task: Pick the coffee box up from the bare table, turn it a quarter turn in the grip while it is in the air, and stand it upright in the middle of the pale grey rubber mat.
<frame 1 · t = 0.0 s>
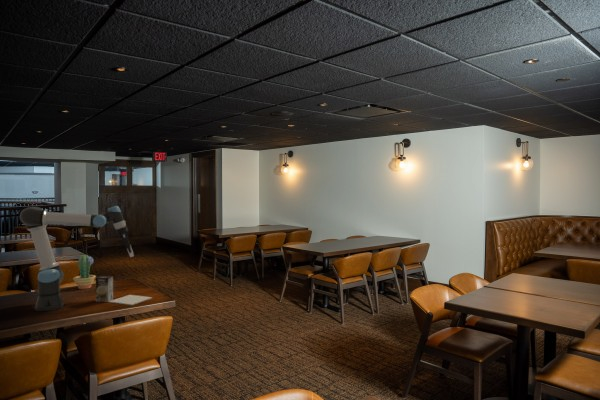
hand: (132, 255, 284), 28 cm above the table, tool tilted 20°, fingers open, 13 cm apart
potted cactus: (84, 287, 307), on the table
coffee box: (104, 300, 268), on the table
mat: (130, 300, 269), on the table
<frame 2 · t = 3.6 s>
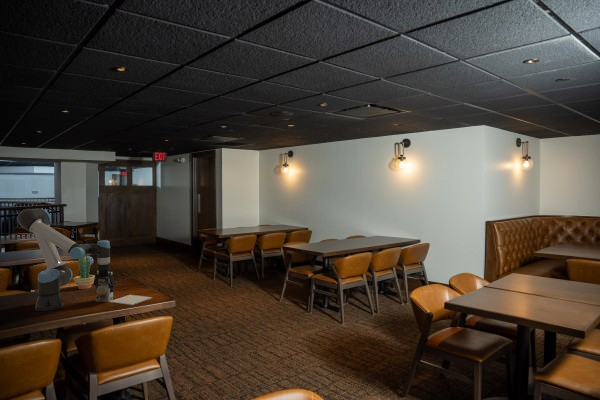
hand: (104, 296, 268), 3 cm above the table, tool pointing down, fingers closed on coffee box, 10 cm apart
coffee box: (104, 300, 268), on the table, touching gripper
everything else where it was.
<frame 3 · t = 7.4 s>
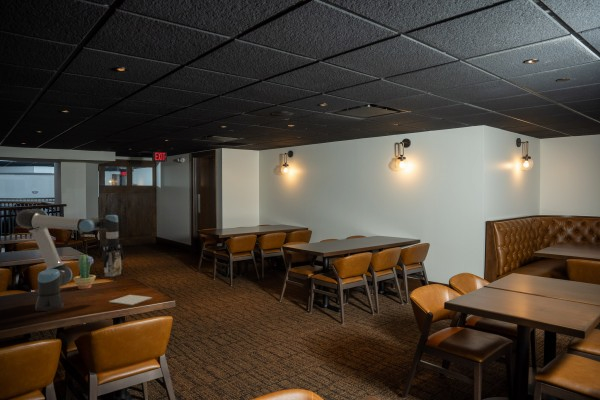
hand: (113, 270, 269), 20 cm above the table, tool pointing down, fingers closed on coffee box, 10 cm apart
coffee box: (113, 275, 269), point 17 cm above the table, touching gripper
everything else where it was.
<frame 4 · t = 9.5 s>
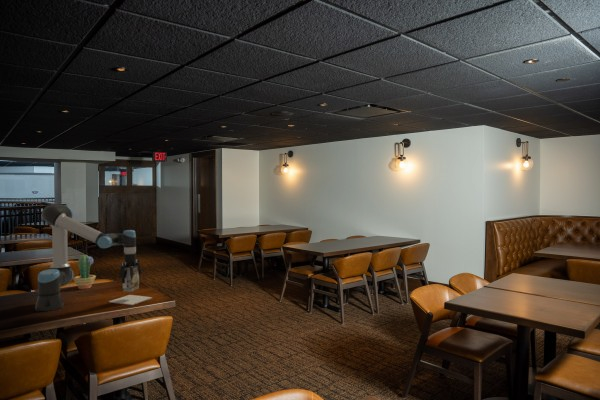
hand: (131, 286, 269), 10 cm above the table, tool pointing down, fingers closed on coffee box, 10 cm apart
coffee box: (131, 290, 269), point 7 cm above the table, touching gripper
everything else where it was.
when the fingers open (5 cm above the table, at t = 11.3 s): coffee box drops 1 cm, resting on mat.
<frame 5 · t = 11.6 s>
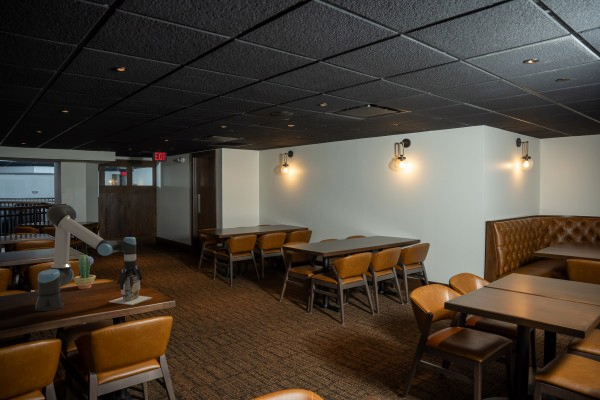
hand: (130, 291, 269), 6 cm above the table, tool pointing down, fingers open, 13 cm apart
coffee box: (131, 299, 269), resting on mat
everything else where it was.
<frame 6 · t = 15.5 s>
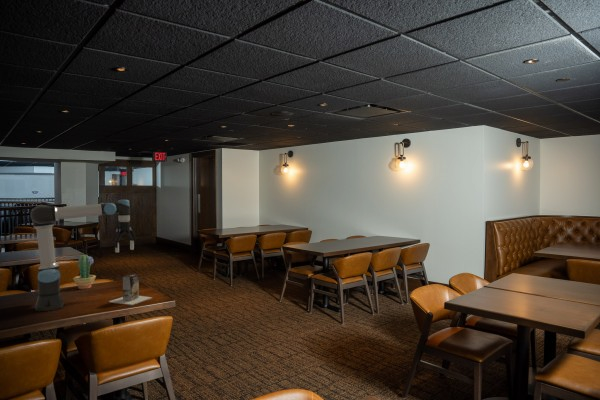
hand: (124, 251, 286), 31 cm above the table, tool pointing down, fingers open, 13 cm apart
nothing on the table moved.
at the end: coffee box inside the target area on the mat (0.2 cm from its centre), point 0.4 cm above the mat's base; coffee box tilted 0°; the gripper is holding nothing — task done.
